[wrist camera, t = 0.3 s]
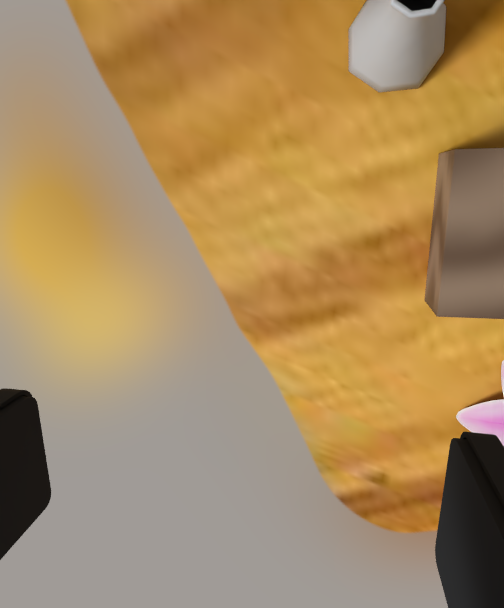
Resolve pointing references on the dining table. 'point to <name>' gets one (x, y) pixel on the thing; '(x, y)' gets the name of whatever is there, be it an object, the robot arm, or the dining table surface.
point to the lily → (485, 416)
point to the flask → (396, 42)
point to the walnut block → (468, 235)
